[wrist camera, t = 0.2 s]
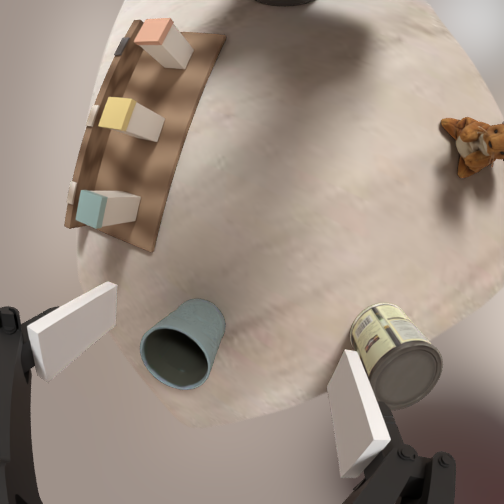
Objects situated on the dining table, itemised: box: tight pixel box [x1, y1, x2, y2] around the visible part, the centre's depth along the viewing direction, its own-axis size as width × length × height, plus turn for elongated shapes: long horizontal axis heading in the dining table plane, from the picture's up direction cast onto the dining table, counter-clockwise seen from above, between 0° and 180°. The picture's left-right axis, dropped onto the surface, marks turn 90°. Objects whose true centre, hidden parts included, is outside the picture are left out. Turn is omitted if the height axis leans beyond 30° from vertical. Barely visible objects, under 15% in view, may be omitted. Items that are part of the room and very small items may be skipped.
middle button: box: [98, 97, 165, 142], centre depth 33 cm, size 4×4×10 cm
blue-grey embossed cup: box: [140, 299, 226, 390], centre depth 38 cm, size 10×10×12 cm
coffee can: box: [350, 303, 443, 410], centre depth 33 cm, size 10×10×14 cm
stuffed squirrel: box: [441, 117, 504, 178], centre depth 26 cm, size 10×14×13 cm
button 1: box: [134, 18, 194, 69], centre depth 30 cm, size 4×4×10 cm
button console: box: [64, 20, 226, 252], centre depth 37 cm, size 38×16×6 cm, turn 162°
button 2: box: [76, 190, 141, 229], centre depth 36 cm, size 4×4×10 cm
